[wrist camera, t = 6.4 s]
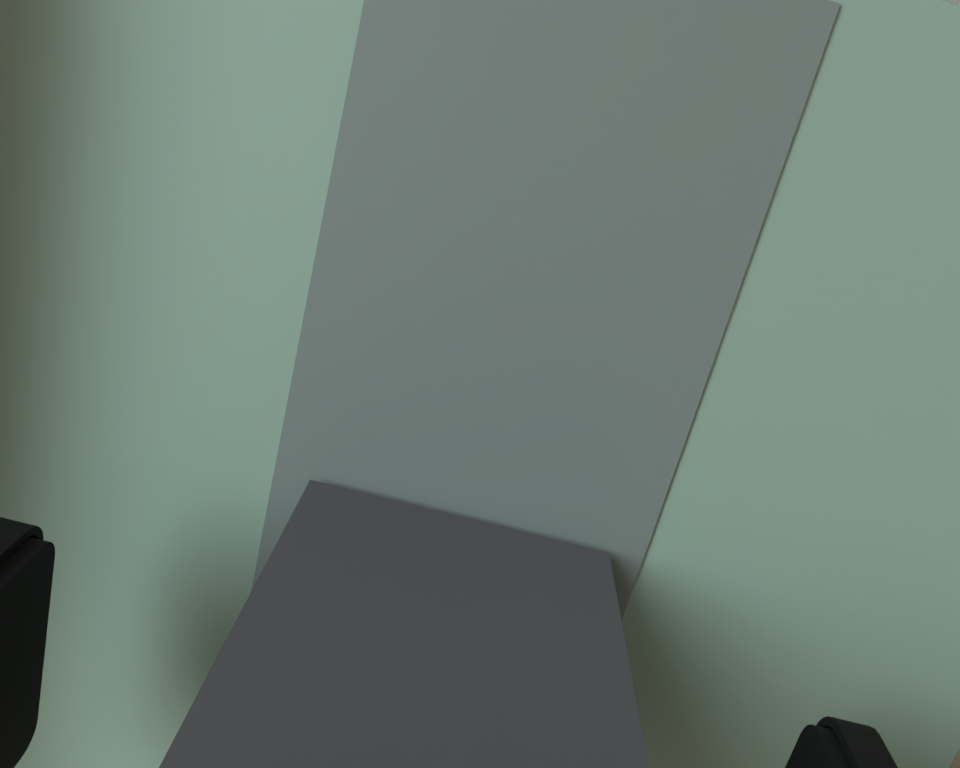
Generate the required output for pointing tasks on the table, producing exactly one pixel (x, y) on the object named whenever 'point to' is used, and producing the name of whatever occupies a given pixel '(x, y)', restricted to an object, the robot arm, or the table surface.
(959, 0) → the table surface
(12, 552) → the robot arm
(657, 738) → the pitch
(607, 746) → the grey cube yellow base
